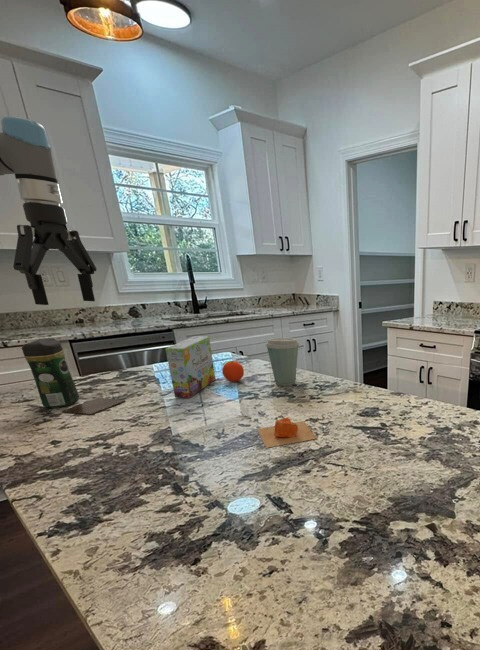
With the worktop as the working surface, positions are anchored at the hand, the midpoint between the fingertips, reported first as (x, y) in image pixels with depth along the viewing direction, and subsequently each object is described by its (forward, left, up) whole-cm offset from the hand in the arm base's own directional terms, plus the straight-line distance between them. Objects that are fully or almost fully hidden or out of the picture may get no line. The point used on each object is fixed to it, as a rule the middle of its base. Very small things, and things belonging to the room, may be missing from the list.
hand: (67, 302), depth 103 cm
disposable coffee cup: (+37, +39, -29) cm, 61 cm away
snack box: (+11, +27, -29) cm, 41 cm away
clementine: (+18, +37, -29) cm, 50 cm away
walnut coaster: (-6, +4, -29) cm, 30 cm away
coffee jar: (-18, +4, -29) cm, 35 cm away
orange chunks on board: (+57, -1, -29) cm, 64 cm away
